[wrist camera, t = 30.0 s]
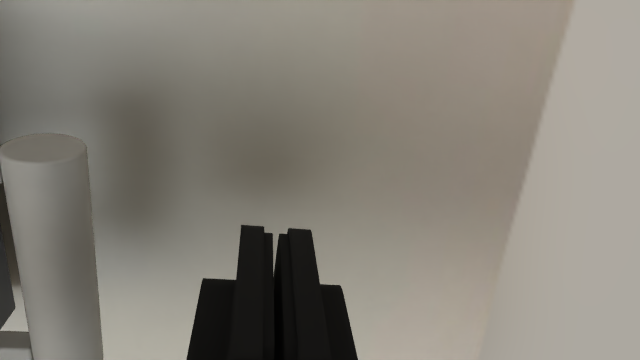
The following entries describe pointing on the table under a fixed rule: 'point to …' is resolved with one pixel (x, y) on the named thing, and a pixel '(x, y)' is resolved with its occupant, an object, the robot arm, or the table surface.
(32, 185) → the drawer
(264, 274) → the robot arm
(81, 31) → the table surface
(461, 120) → the table surface
